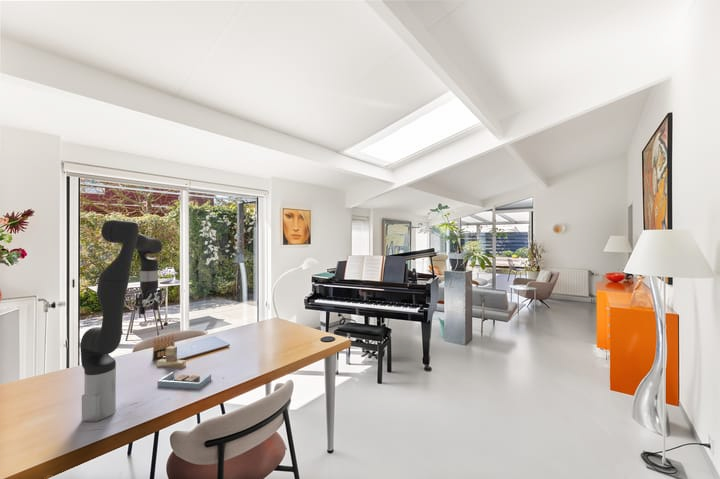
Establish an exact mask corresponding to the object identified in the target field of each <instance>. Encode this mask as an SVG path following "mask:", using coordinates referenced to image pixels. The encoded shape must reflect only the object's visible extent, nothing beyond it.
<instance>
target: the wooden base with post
mask: <svg viewBox="0 0 720 479" xmlns="http://www.w3.org/2000/svg"><path fill="white" fill-rule="evenodd" d="M186 366H187V360H185V359H178V346H175V345H174V346H169V347H168V346H167V348H166V358H162V359H158V360H156V367H159V368H174V369H183V368H184V367H186Z"/></svg>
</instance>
